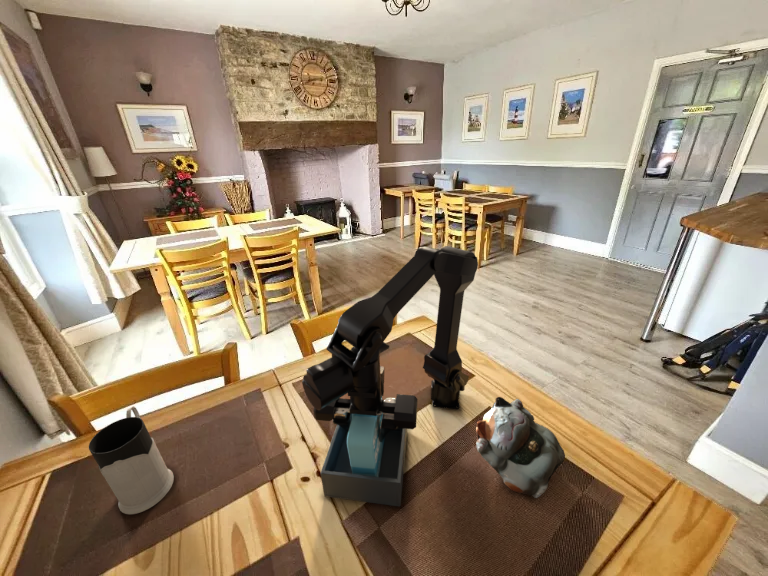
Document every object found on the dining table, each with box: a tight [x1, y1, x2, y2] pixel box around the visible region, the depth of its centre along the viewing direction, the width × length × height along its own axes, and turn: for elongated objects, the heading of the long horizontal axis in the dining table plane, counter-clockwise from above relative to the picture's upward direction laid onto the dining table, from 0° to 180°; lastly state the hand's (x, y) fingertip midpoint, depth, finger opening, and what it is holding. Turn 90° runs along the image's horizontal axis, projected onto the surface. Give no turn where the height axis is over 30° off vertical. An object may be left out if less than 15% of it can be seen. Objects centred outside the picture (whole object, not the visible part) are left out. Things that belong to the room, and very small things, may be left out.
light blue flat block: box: [347, 396, 385, 477], centre depth 61 cm, size 12×4×12 cm, turn 172°
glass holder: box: [88, 405, 175, 515], centre depth 59 cm, size 9×14×15 cm, turn 27°
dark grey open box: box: [320, 424, 408, 508], centre depth 62 cm, size 14×16×7 cm
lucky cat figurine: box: [475, 396, 566, 499], centre depth 61 cm, size 15×12×14 cm
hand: (368, 438), depth 61 cm, fingers open, 5 cm apart
